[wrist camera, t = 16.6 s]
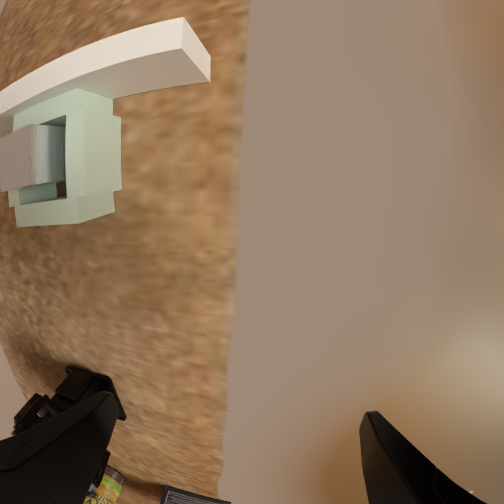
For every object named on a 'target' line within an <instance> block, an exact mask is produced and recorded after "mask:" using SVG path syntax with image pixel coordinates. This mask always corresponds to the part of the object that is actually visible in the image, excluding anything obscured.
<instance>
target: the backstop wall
mask: <svg viewBox="0 0 504 504" xmlns="http://www.w3.org/2000/svg"><path fill="white" fill-rule="evenodd" d="M205 82H210V55H209V54H208V52H207V51H206V49H205V48H204V46H203V45H202V43H201V42H200V40H199V39H198V37H197V36H196V34H195V33H194V31H193V30H192V28H191V27H190V25H189V24H188V23H187V21H186V20H185V18H184V17H181V18H176V19H171V20H167V21H162V22H158V23H154V24H150V25H146V26H143V27H139V28H135V29H132V30H129V31H126V32H122V33H119V34H116V35H113V36H110V37H108V38H105V39H102V40H99V41H97V42H94V43H92V44H89V45H87V46H84V47H82V48H79V49H77V50H75V51H73V52H70V53H68V54H66V55H64V56H62V57H60V58H58V59H55V60H53V61H51V62H50V63H48V64H46V65H44V66H42V67H40V68H38V69H36V70H35V71H33V72H31V73H29V74H27V75H26V76H24V77H22V78H21V79H19V80H17V81H16V82H14V83H13V84H11V85H9V86H8V87H6V88H5V89H3V90H2V91H0V138H2V137H4V136H6V135H8V134H10V133H12V132H13V121H14V115H16V114H18V113H20V112H22V111H24V110H26V109H28V108H30V107H32V106H34V105H36V104H39V103H41V102H43V101H45V100H48V99H50V98H52V97H55V96H57V95H60V94H62V93H65V92H67V91H70V90H73V89H75V88H80V89H83V90H86V91H89V92H92V93H95V94H98V95H101V96H104V97H107V98H110V99H116V98H120V97H124V96H129V95H133V94H137V93H142V92H147V91H152V90H157V89H163V88H169V87H175V86H182V85H189V84H197V83H205Z"/></svg>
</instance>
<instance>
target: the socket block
mask: <svg viewBox="0 0 504 504" xmlns="http://www.w3.org/2000/svg"><path fill="white" fill-rule="evenodd" d="M112 114H113V99H110V98H107V97H104V96H101V95H98V94H95V93H92V92H89V91H86V90H83V89H80V88H75V89H73V90H70V91H67V92H65V93H62V94H60V95H57V96H55V97H52V98H50V99H48V100H45V101H43V102H41V103H39V104H36V105H34V106H32V107H30V108H28V109H26V110H24V111H22V112H20V113H18V114H16V115H14V121H13V132H14V131H16V130H18V129H20V128H22V127H25V126H27V125H29V124H37V125H48V126H58V127H66V135H65V166H66V189H67V196H62V197H57V190H56V183H54V184H47V185H40V186H34V187H28V188H22V189H16V190H11V191H8V199H9V207H14V208H15V217H16V225H17V227H30V226H45V225H61V224H79V223H82V222H85V221H88V220H91V219H94V218H97V217H100V216H103V215H107V214H110V213H113V212H115V207H114V193H113V191H118V190H122V175H121V117H117V116H114V115H112Z"/></svg>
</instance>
